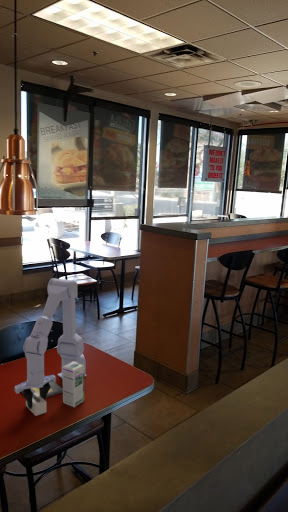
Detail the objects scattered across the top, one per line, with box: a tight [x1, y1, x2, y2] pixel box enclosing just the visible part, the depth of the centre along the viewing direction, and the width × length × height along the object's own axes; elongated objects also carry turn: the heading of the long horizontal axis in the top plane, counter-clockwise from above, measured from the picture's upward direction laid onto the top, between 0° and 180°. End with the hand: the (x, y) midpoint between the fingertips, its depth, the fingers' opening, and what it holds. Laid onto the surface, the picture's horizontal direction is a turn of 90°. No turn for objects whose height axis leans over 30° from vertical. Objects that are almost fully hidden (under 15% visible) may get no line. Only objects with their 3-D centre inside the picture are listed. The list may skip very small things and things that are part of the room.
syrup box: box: [61, 361, 85, 408], centre depth 146 cm, size 6×6×14 cm
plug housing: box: [25, 392, 47, 417], centre depth 141 cm, size 4×8×5 cm, turn 40°
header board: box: [21, 382, 63, 398], centre depth 154 cm, size 13×11×4 cm
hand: (36, 405), depth 142 cm, fingers closed on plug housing, 4 cm apart
